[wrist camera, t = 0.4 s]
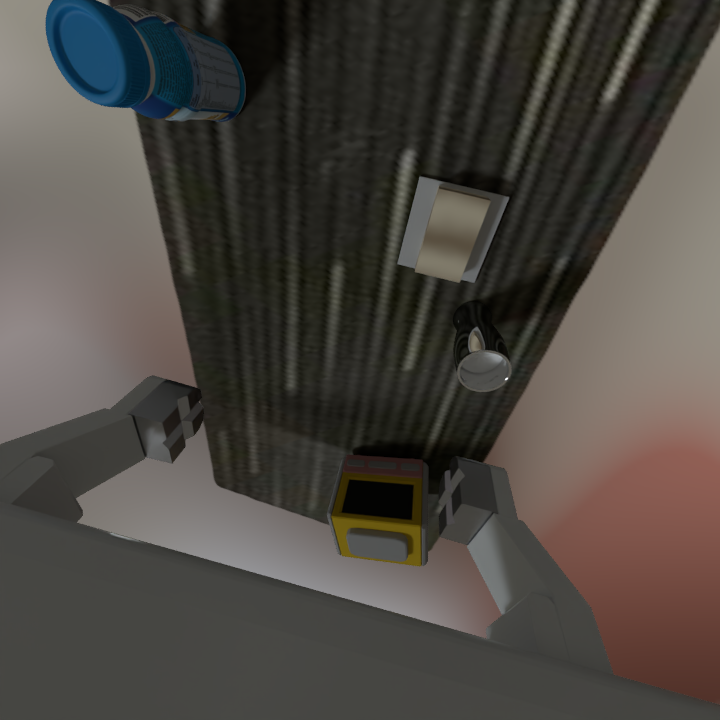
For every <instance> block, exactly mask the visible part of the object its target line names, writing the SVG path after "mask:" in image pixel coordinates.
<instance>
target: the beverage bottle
mask: <svg viewBox="0 0 720 720" xmlns="http://www.w3.org/2000/svg"><path fill="white" fill-rule="evenodd" d="M46 35H47V40H48V44H49V47H50V51H51V53H52V56H53V58H54V60H55V62H56V64H57V66H58V68H59V70H60V71H61V73H62V75H63V76H64V77H65V79H66V80H67V81H68V83H69V84H70V85H71V86H72V87H73V88H74V89H75V90H76V91H77V92H79V94H81V95H82V96H83V97H85V98H86V99H88V100H90V101H92V102H94V103H96V104H100V105H103V106H108V107H120V108H121V107H122V108H132V109H133V110H135V111H137V112H139V113H140V114H142V115H145V116H147V117H150V118H154V119H166V120H170V121H185V120H188V119H202V120H212V121H219V122H224V121H229V120H231V119H233V118H234V117H236V116H237V115H238V114H239V112H240V111H241V109H242V107H243V104H244V101H245V96H246V84H245V78H244V74H243V71H242V68H241V65H240V63H239V61H238V60H237V58H236V56H235V55H234V53H233V52H232V51H231V50H230V49H229V48H228V47H227V46H226V45H225V44H223V43H222V42H220V41H219V40H217V39H214V38H212V37H208V36H206V35H203V34H201V33H199V32H196V31H194V30H192V29H190V28H187V27H185V26H183V25H181V24H178V23H177V22H175V21H174V20H172V19H171V18H169V17H167V16H165V15H163V14H160V13H157V12H153V11H149V10H147V9H145V8H142V7H140V6H136V5H128V4H127V5H119V6H115V7H113V8H112V7H110V6H108V5H106V4H104V3H101V2H99V1H96V0H53V1H52V2H51V4H50V6H49V8H48V10H47V15H46Z"/></svg>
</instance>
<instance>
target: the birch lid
mask: <svg viewBox="0 0 720 720" xmlns="http://www.w3.org/2000/svg"><path fill="white" fill-rule="evenodd" d="M490 202H491V200H490V199H489V198H488V197H486V196H482V195H477V194H473V193H469V192H465V191H460V190H456V189H452V188H448V187H443V186H438V189H437V193H436V196H435V200H434V203H433V207H432V210H431V214H430V217H429V220H428V224H427V227H426V231H425V234H424V238H423V241H422V245H421V248H420V251H419V255H418V258H417V262H416V265H415V272H418V273H422V274H426V275H430V276H434V277H438V278H442V279H446V280H450V281H455V282H459V283H460V280H461V277H462V275H463V272H464V270H465V267H466V264H467V262H468V259H469V257H470V254H471V251H472V249H473V246H474V244H475V241H476V238H477V236H478V233H479V231H480V228H481V225H482V223H483V220H484V217H485V215H486V212H487V210H488V207H489V204H490Z"/></svg>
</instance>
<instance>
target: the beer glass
mask: <svg viewBox="0 0 720 720" xmlns="http://www.w3.org/2000/svg"><path fill="white" fill-rule="evenodd" d="M453 324H454V327H455V329H456V330H457V333H456V337H455V341H454V348H453V354H454V362H455V367H456V371H457V376H458V379H459V381H460V382H461V384H462V385H463V386H465V387H466V388H468V389H470V390H473V391H477V392H488V391H492V390H495V389H498V388H499V387H501V386H502V385H504V384H505V383H506V382H507V381H508V379H509V378H510V375H511V370H512V368H511V364H510V359H509V354H508V350H507V347H506V344H505V342H504V340H503V338H502V336H501V335H500V333H499V332H498V330H497V329H496V328H495V327H494V326H493V324H492V313H491V311H490V309H489V308H488V307H487V306H486V305H485V304H483V303H481V302H476V301H472V302H467V303H464V304H463V305H461V306H460V307H458V308H457V310H456V311H455V313H454V315H453Z"/></svg>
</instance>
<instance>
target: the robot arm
mask: <svg viewBox="0 0 720 720" xmlns="http://www.w3.org/2000/svg"><path fill="white" fill-rule="evenodd" d="M201 398H202V394H201V390H200V389H198V388H195V387H192V386H189V385H185V384H182V383H178V382H175V381H171V380H167V379H163V378H160V377H157V376H150V377H147V378H146V379H145V380H143V382H141V383H140V384H139V385H138V386H136V387H135V388H134V389H133V390H132V391H131V392H130V393H128V394H127V395H126V396H125V397H124V398H123V399H121V400H120V401H119V402H118V403H117V404H116V405H114V406H113V407H112V408H111V409H102V410H99V411H96V412H93V413H90V414H87V415H84V416H81V417H78V418H76V419H72V420H70V421H67V422H64V423H61V424H58V425H55V426H52V427H49V428H47V429H43V430H40V431H37V432H34V433H32V434H29V435H26V436H23V437H20V438H17V439H14V440H11V441H8V442H5V443H3V444H0V720H720V705H719V704H715V703H712V702H708V701H704V700H701V699H697V698H694V697H690V696H687V695H683V694H679V693H676V692H673V691H669V690H666V689H662V688H659V687H655V686H651V685H648V684H645V683H641V682H638V681H634V680H630V679H627V678H623V677H620V676H616V675H614V674H613V671H612V668H611V666H610V662H609V659H608V656H607V654H606V651H605V648H604V645H603V642H602V639H601V636H600V633H599V630H598V627H597V624H596V621H595V618H594V615H593V612H592V609H591V607H590V606H589V605H588V603H587V602H586V601H585V599H584V598H583V597H582V596H581V594H580V593H579V592H578V590H577V589H576V588H575V587H574V585H573V584H572V583H571V582H570V580H569V579H568V578H567V577H566V575H565V574H564V573H563V571H562V570H561V569H560V568H559V566H558V565H557V564H556V562H555V561H554V560H553V559H552V557H551V556H550V555H549V554H548V552H547V551H546V550H545V549H544V547H543V546H542V545H541V543H540V542H539V541H538V540H537V538H536V537H535V536H534V534H533V533H532V532H531V531H530V529H529V528H528V527H527V526H526V524H525V523H524V522H523V521H521V520H518V518H517V513H516V509H515V505H514V501H513V496H512V492H511V488H510V484H509V479H508V475H507V472H506V470H505V469H504V468H500V467H496V466H493V465H488V464H485V463H481V462H477V461H474V460H470V459H466V458H462V457H458V456H455V457H453V458H452V460H451V462H450V470H448V471H446V472H444V474H443V476H442V478H441V482H440V486H439V503H440V505H441V506H442V508H443V509H442V511H441V513H440V514H439V537H442V538H445V539H449V540H452V541H455V542H458V543H462V544H465V545H468V546H467V548H468V550H469V552H470V553H471V555H472V557H473V559H474V561H475V563H476V565H477V567H478V569H479V571H480V573H481V575H482V577H483V579H484V580H485V582H486V584H487V586H488V588H489V590H490V592H491V594H492V596H493V598H494V600H495V602H496V604H497V606H498V608H499V610H500V612H501V614H502V616H501V617H500V618H498V619H497V620H496V621H494V622H493V623H492V624H491V625H490V626H489V627H487V628H486V635H487V639H486V638H482V637H479V636H475V635H472V634H468V633H464V632H461V631H457V630H454V629H451V628H447V627H443V626H440V625H436V624H433V623H429V622H425V621H422V620H418V619H415V618H412V617H408V616H405V615H401V614H398V613H394V612H391V611H387V610H383V609H380V608H376V607H373V606H369V605H366V604H362V603H359V602H355V601H352V600H348V599H345V598H341V597H337V596H334V595H331V594H327V593H323V592H320V591H316V590H313V589H309V588H306V587H302V586H299V585H295V584H292V583H288V582H285V581H281V580H278V579H274V578H271V577H267V576H263V575H260V574H256V573H253V572H249V571H246V570H242V569H239V568H235V567H231V566H228V565H224V564H221V563H218V562H214V561H210V560H207V559H204V558H200V557H196V556H193V555H189V554H186V553H182V552H178V551H175V550H172V549H168V548H165V547H161V546H157V545H154V544H151V543H147V542H143V541H140V540H136V539H133V538H129V537H125V536H122V535H119V534H115V533H112V532H108V531H104V530H101V529H97V528H93V527H90V526H87V525H83V524H79V523H77V521H78V520H79V519H80V518H81V517H82V516H83V510H82V509H81V507H80V505H79V503H78V502H77V500H76V498H77V497H79V496H80V495H82V494H84V493H86V492H87V491H89V490H91V489H92V488H94V487H96V486H98V485H100V484H101V483H103V482H105V481H107V480H108V479H110V478H112V477H114V476H115V475H117V474H119V473H121V472H122V471H124V470H126V469H128V468H129V467H131V466H133V465H135V464H136V463H138V462H140V461H142V460H144V459H145V457H147V458H151V459H155V460H160V461H164V462H168V463H173V462H174V461H175V459H176V458H177V457H178V456H179V454H180V453H181V452H182V451H183V449H184V448H185V440H186V439H188V438H190V437H192V436H194V435H195V434H196V432H197V431H198V430H199V428H200V426H201V424H202V421H203V417H204V408H203V406H202V405H201V404H200V403H199V401H200V399H201Z"/></svg>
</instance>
